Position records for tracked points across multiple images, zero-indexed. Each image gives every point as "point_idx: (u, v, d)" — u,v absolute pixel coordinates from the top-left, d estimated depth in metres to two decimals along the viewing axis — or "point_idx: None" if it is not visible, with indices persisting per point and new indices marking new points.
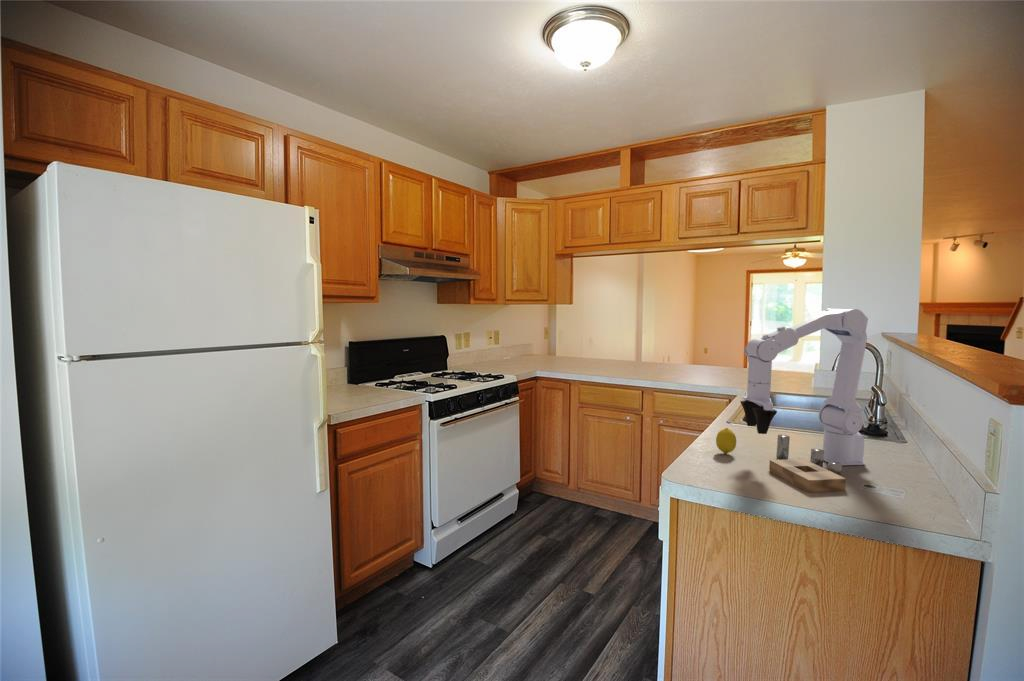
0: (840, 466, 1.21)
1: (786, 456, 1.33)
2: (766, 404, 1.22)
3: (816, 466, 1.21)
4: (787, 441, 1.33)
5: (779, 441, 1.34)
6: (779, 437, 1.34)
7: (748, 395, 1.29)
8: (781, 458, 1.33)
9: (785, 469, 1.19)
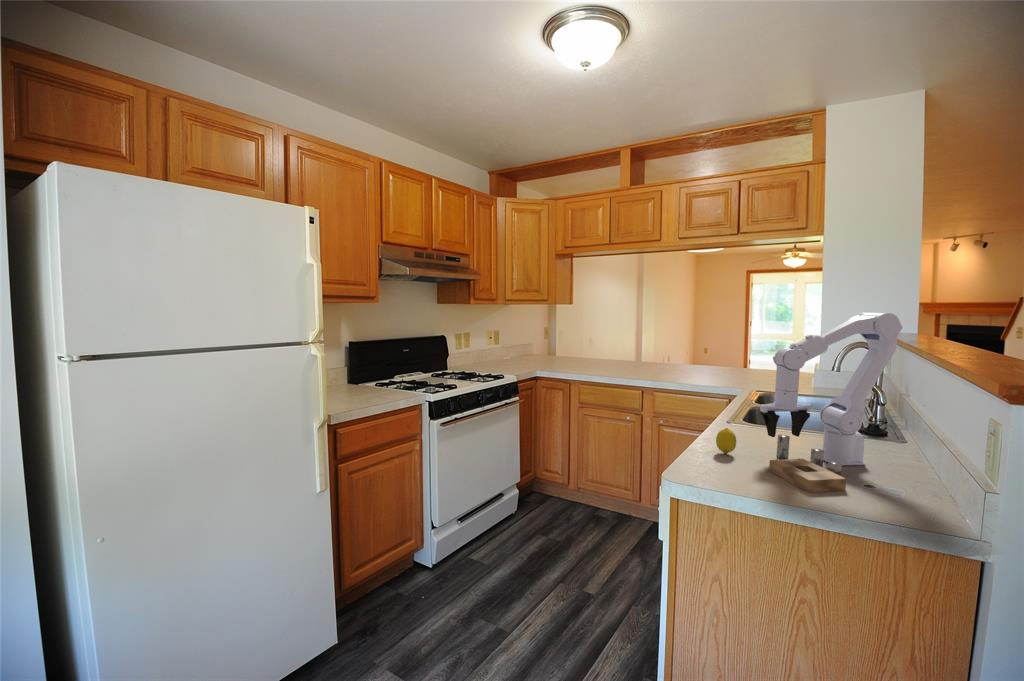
0: (840, 466, 1.21)
1: (786, 456, 1.33)
2: (760, 405, 1.33)
3: (816, 466, 1.21)
4: (787, 441, 1.33)
5: (779, 441, 1.34)
6: (779, 437, 1.34)
7: None
8: (781, 458, 1.33)
9: (785, 469, 1.19)
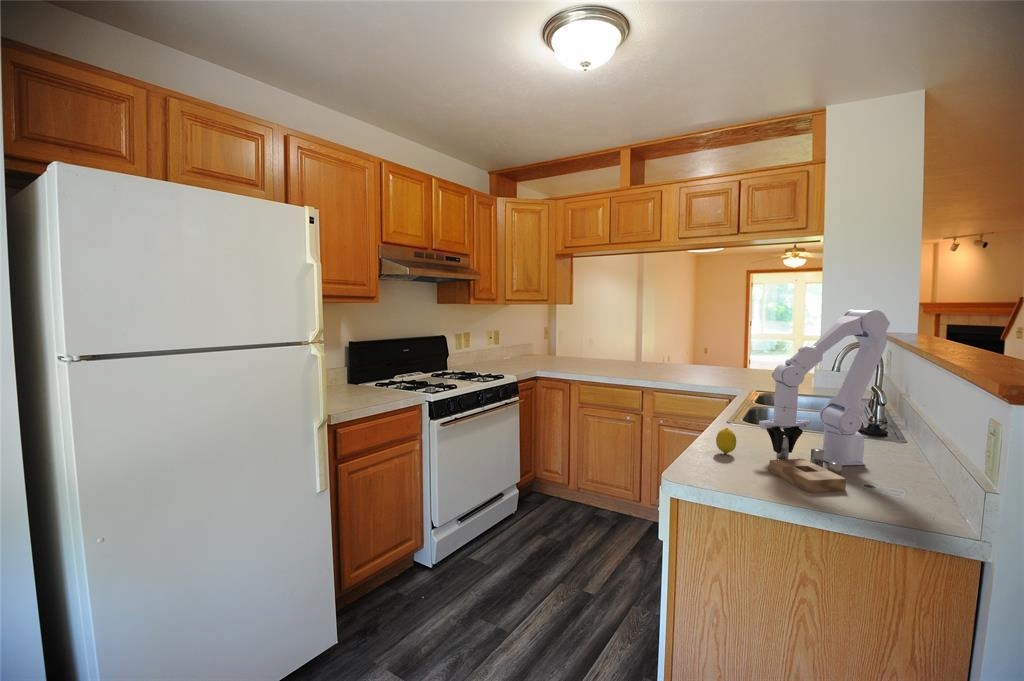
0: (840, 466, 1.21)
1: (786, 456, 1.33)
2: (759, 422, 1.33)
3: (816, 466, 1.21)
4: (787, 441, 1.33)
5: None
6: None
7: None
8: (781, 458, 1.33)
9: (785, 469, 1.19)
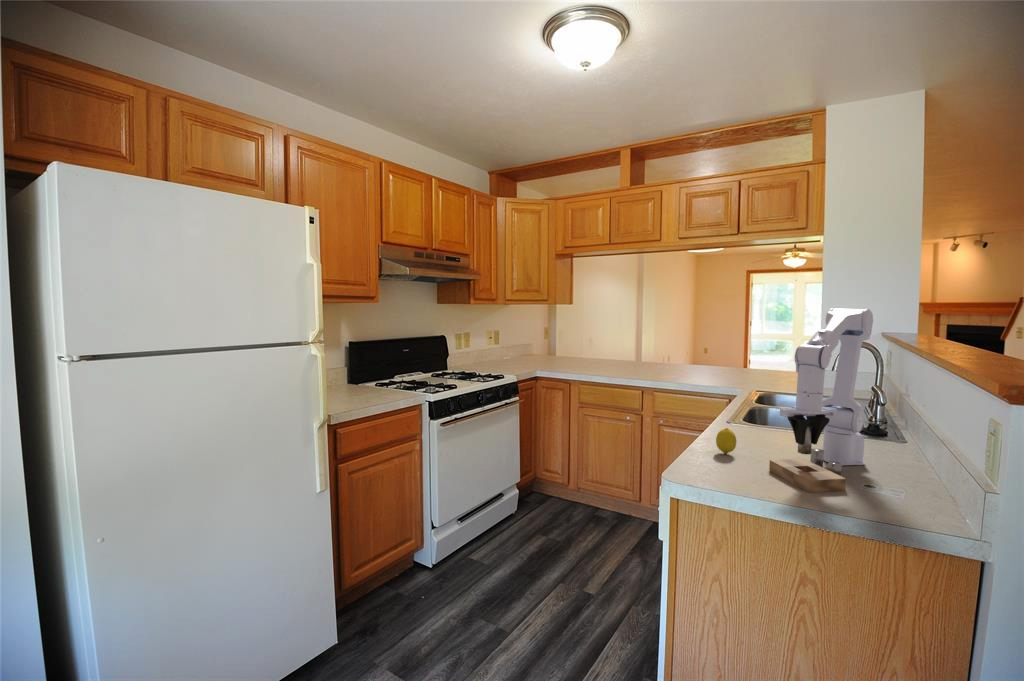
0: (840, 466, 1.21)
1: (808, 449, 1.18)
2: (780, 409, 1.18)
3: (816, 466, 1.21)
4: (809, 432, 1.18)
5: None
6: None
7: None
8: (802, 451, 1.19)
9: (785, 469, 1.19)
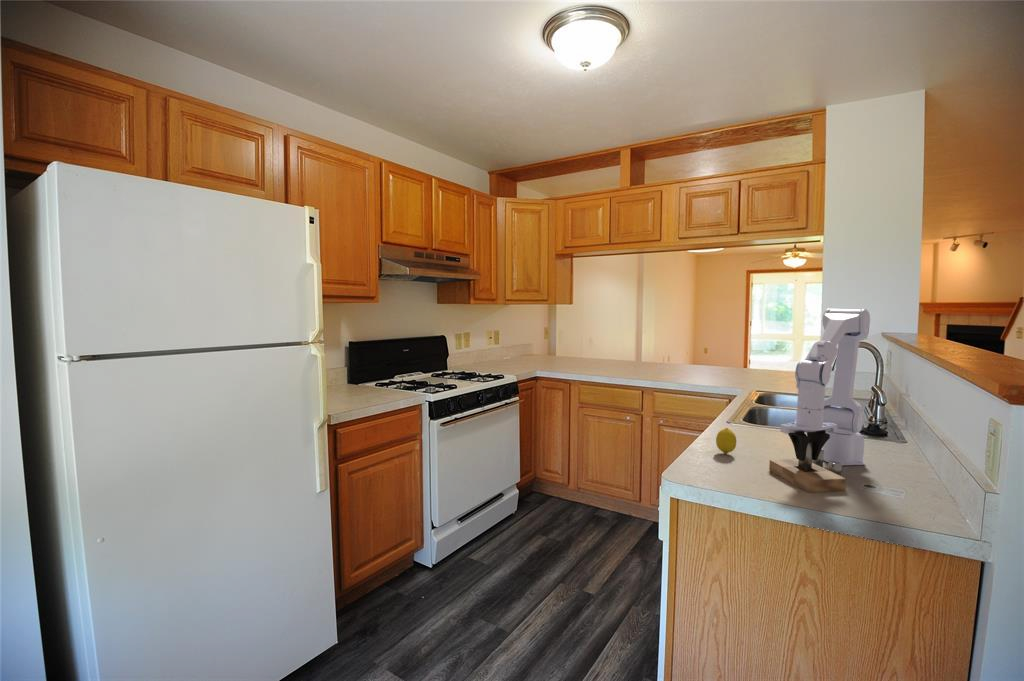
0: (840, 466, 1.21)
1: (809, 465, 1.18)
2: (781, 425, 1.18)
3: (816, 466, 1.21)
4: (810, 448, 1.17)
5: None
6: None
7: None
8: (803, 467, 1.18)
9: (785, 469, 1.19)
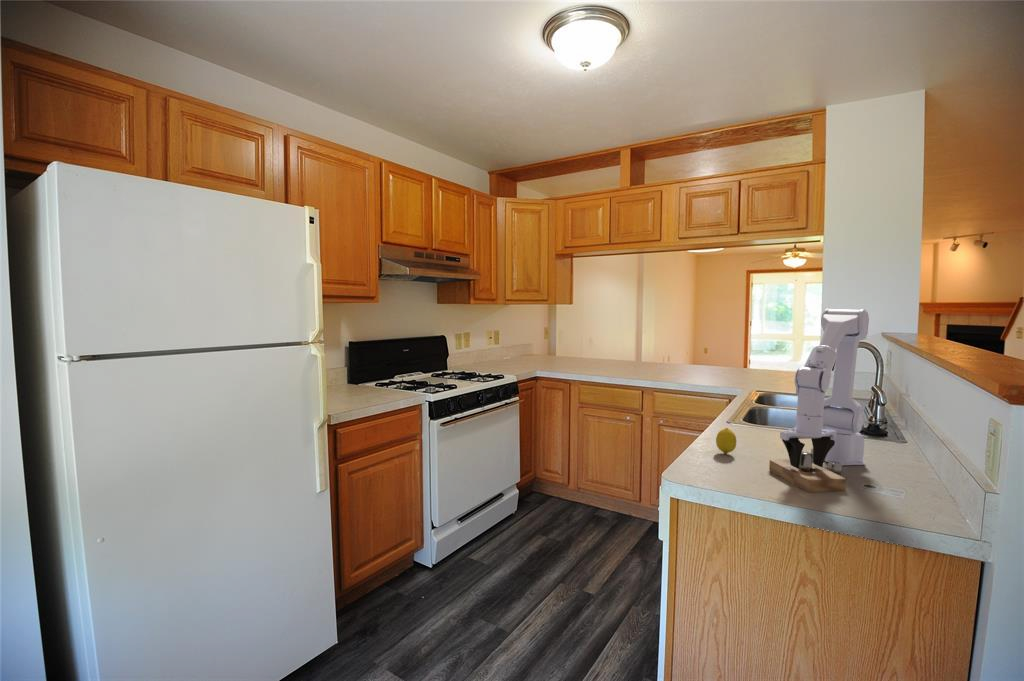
0: (840, 466, 1.21)
1: None
2: (781, 432, 1.18)
3: (816, 466, 1.21)
4: (809, 459, 1.18)
5: (800, 459, 1.19)
6: None
7: None
8: None
9: (785, 469, 1.19)
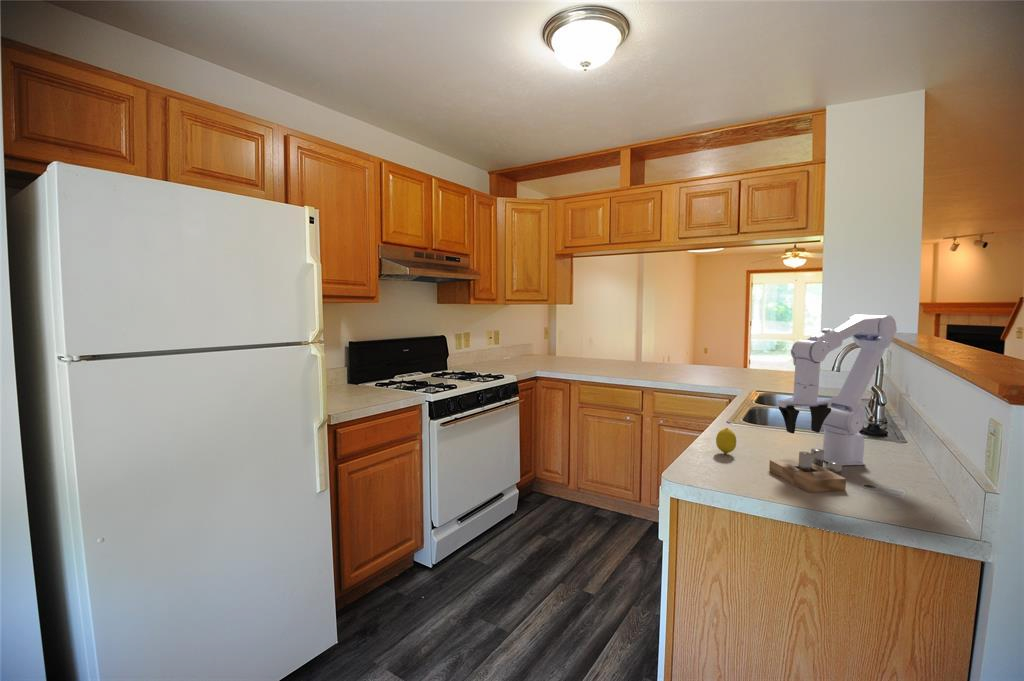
0: (840, 466, 1.21)
1: None
2: (779, 400, 1.27)
3: (816, 466, 1.21)
4: (810, 459, 1.18)
5: (800, 459, 1.19)
6: (801, 454, 1.19)
7: None
8: None
9: (785, 469, 1.19)
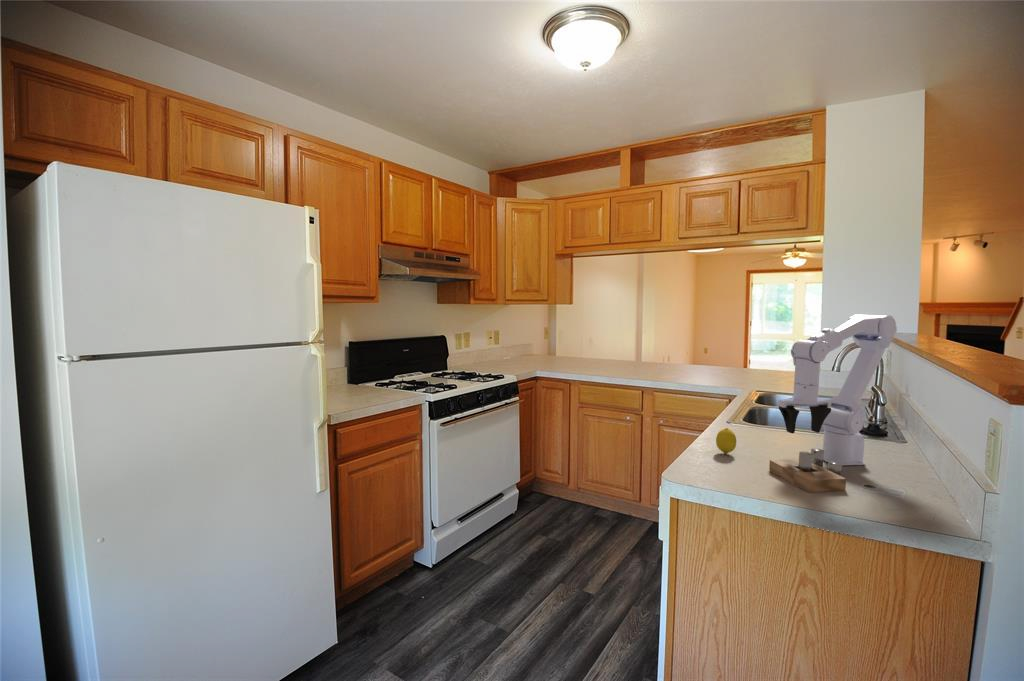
0: (840, 466, 1.21)
1: None
2: (779, 400, 1.27)
3: (816, 466, 1.21)
4: (810, 459, 1.18)
5: (801, 459, 1.19)
6: (801, 454, 1.19)
7: None
8: None
9: (785, 469, 1.19)
